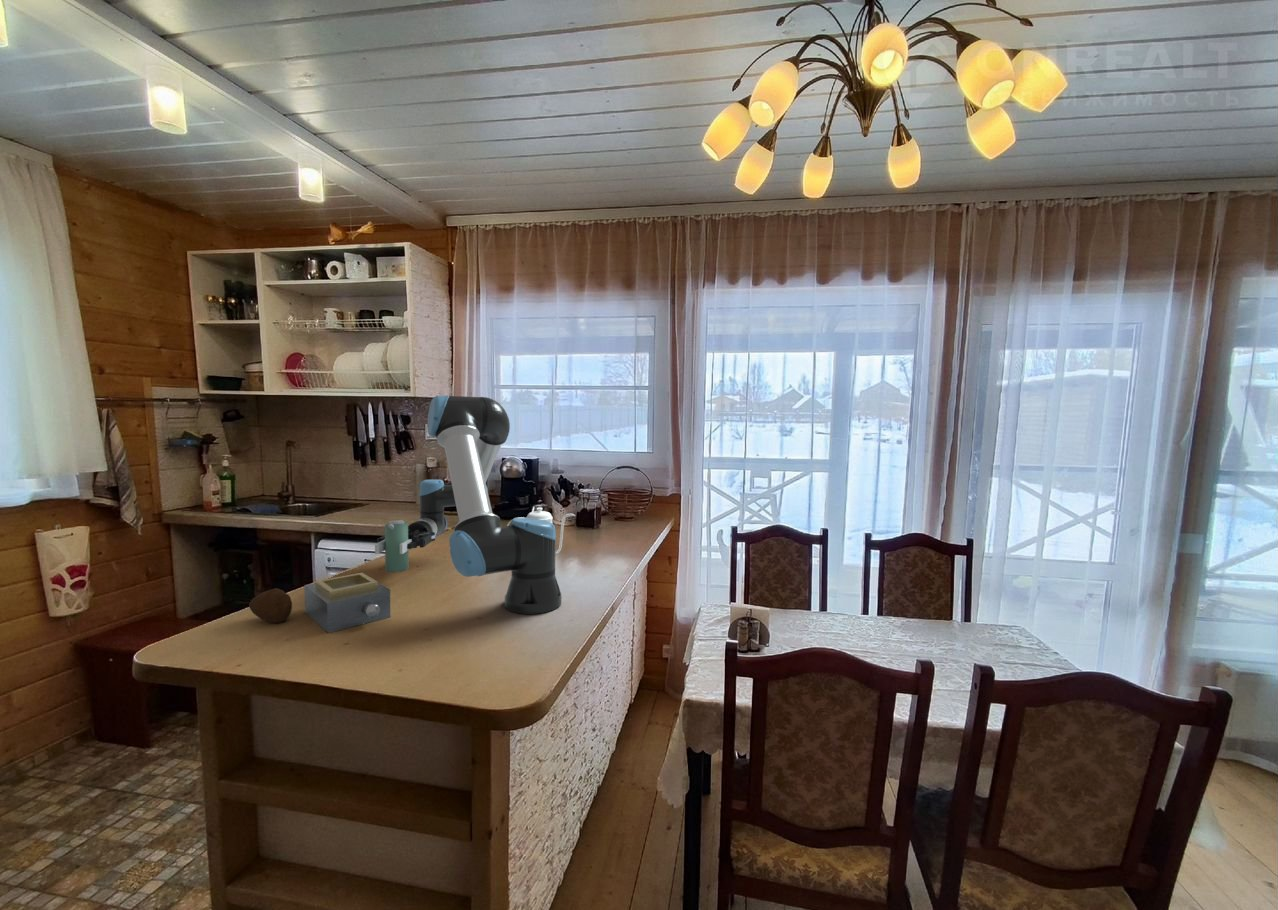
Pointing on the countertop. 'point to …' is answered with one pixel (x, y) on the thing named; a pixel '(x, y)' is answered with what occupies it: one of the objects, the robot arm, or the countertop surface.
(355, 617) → the box
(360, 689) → the countertop surface
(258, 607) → the potato
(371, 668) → the countertop surface
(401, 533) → the can
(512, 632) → the countertop surface
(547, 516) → the coffeepot
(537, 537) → the robot arm
